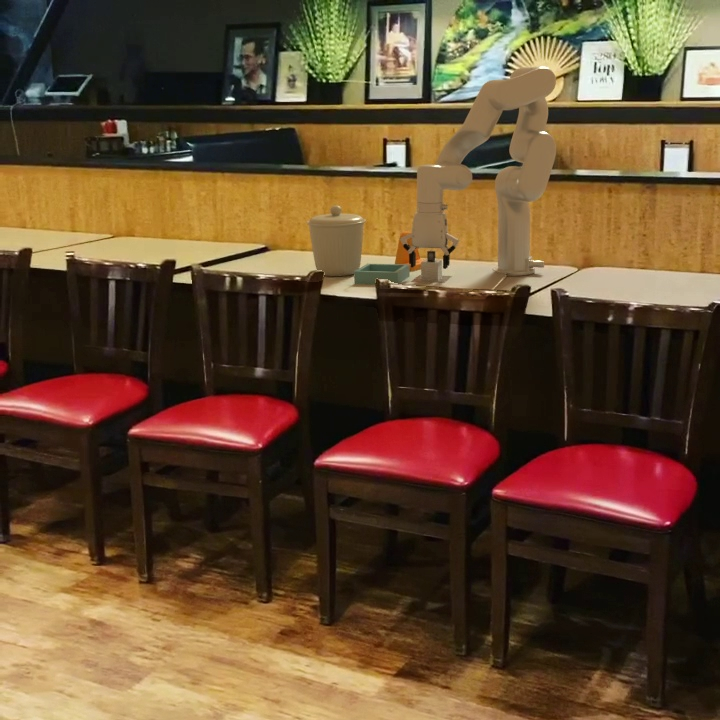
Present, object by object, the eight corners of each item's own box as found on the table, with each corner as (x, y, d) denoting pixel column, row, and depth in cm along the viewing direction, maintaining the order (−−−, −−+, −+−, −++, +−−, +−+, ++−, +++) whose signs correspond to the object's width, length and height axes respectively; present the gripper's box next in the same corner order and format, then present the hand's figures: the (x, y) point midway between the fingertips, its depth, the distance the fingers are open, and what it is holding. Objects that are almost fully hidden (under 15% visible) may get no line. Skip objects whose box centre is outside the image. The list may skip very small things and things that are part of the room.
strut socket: (442, 277, 309) (441, 250, 306) (438, 280, 304) (437, 252, 302) (425, 276, 310) (425, 249, 308) (421, 280, 306) (420, 252, 303)
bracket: (414, 274, 321) (413, 235, 317) (394, 272, 325) (393, 233, 322) (433, 268, 329) (433, 230, 326) (414, 266, 333) (414, 229, 330)
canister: (379, 273, 324) (377, 204, 318) (332, 281, 313) (330, 210, 307) (343, 266, 337) (340, 200, 332) (297, 274, 327) (294, 206, 321)
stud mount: (452, 279, 310) (452, 262, 309) (444, 285, 301) (444, 268, 300) (419, 278, 313) (419, 261, 312) (410, 284, 304) (410, 267, 303)
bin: (409, 279, 312) (409, 264, 311) (397, 288, 300) (397, 272, 299) (367, 278, 316) (367, 263, 315) (354, 286, 304) (354, 271, 303)
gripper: (462, 207, 302) (461, 266, 307) (404, 206, 308) (403, 264, 312) (456, 210, 296) (455, 270, 300) (397, 209, 301) (397, 268, 305)
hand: (429, 267), depth 306 cm, fingers open, 9 cm apart
